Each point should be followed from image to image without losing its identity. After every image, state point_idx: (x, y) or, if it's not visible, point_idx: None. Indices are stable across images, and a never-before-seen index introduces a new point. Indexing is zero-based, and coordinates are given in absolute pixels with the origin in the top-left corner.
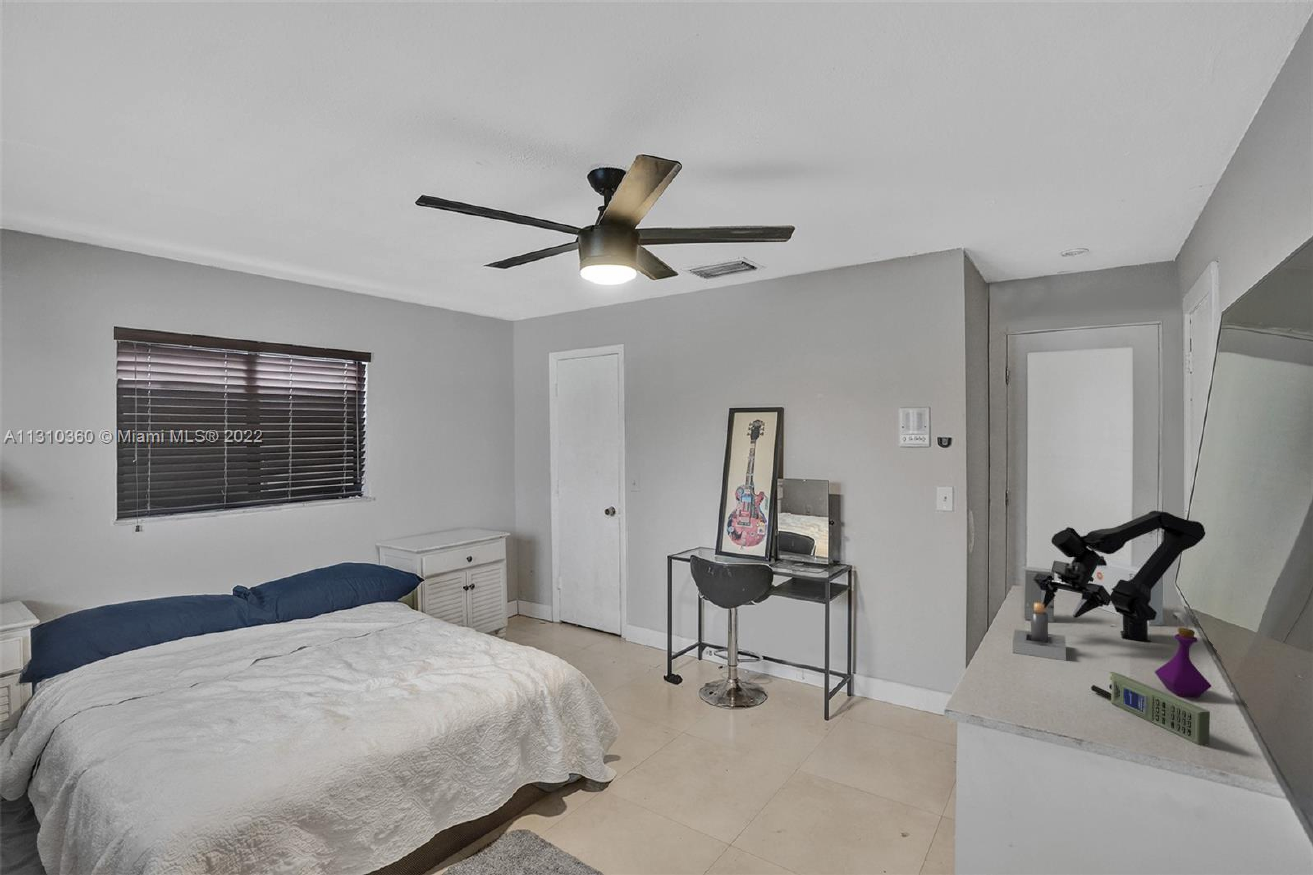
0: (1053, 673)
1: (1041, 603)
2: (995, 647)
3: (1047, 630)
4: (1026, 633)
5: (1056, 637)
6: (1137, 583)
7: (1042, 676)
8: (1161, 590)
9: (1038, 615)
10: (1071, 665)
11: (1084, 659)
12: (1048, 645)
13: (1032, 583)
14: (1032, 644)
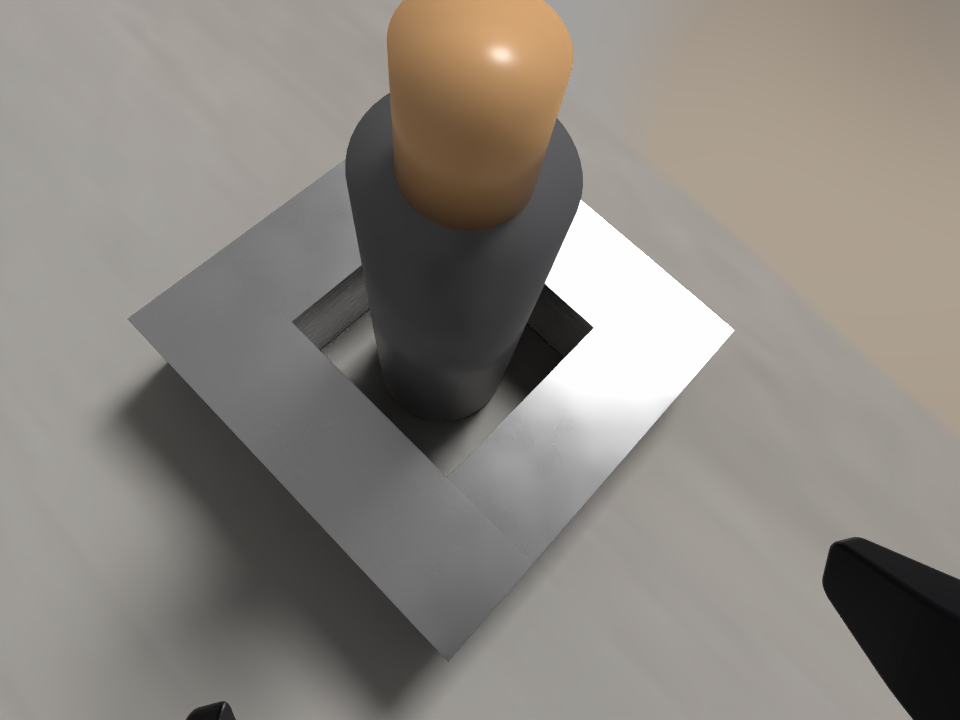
0: (30, 90)
1: (491, 97)
2: (564, 127)
3: (373, 315)
4: (610, 337)
5: (433, 518)
6: None
7: (30, 4)
8: None
9: (389, 100)
10: (77, 313)
11: (126, 533)
12: (265, 254)
13: None
14: (339, 164)
